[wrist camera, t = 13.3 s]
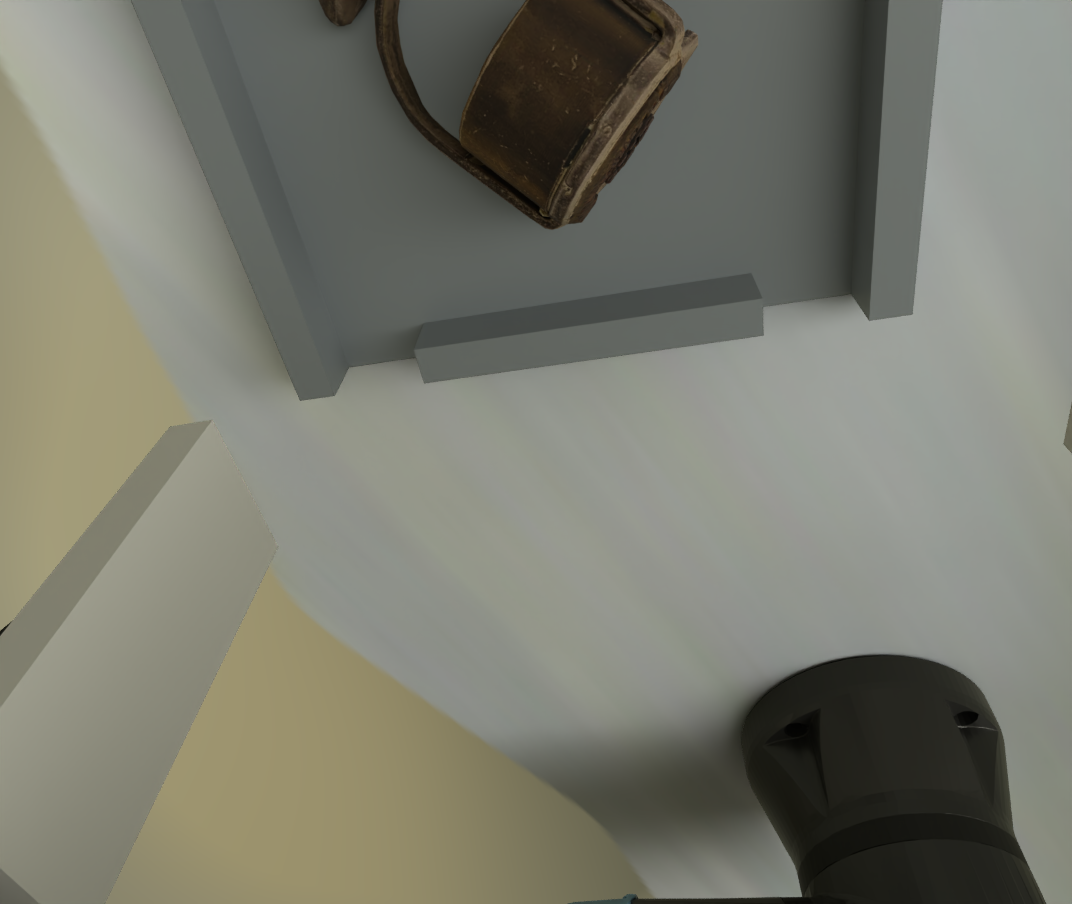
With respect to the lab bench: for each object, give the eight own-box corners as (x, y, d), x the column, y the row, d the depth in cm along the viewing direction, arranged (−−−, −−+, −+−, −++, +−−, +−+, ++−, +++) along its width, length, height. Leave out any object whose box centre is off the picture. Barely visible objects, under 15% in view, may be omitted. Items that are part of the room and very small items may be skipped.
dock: (888, 284, 32) (912, 314, 30) (318, 367, 36) (299, 400, 34) (940, -410, 21) (985, -449, 19) (100, -184, 25) (50, -192, 22)
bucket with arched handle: (496, 328, 28) (750, 183, 23) (195, 17, 22) (448, -294, 16) (529, 221, 33) (746, 80, 27) (291, -60, 26) (512, -320, 21)
